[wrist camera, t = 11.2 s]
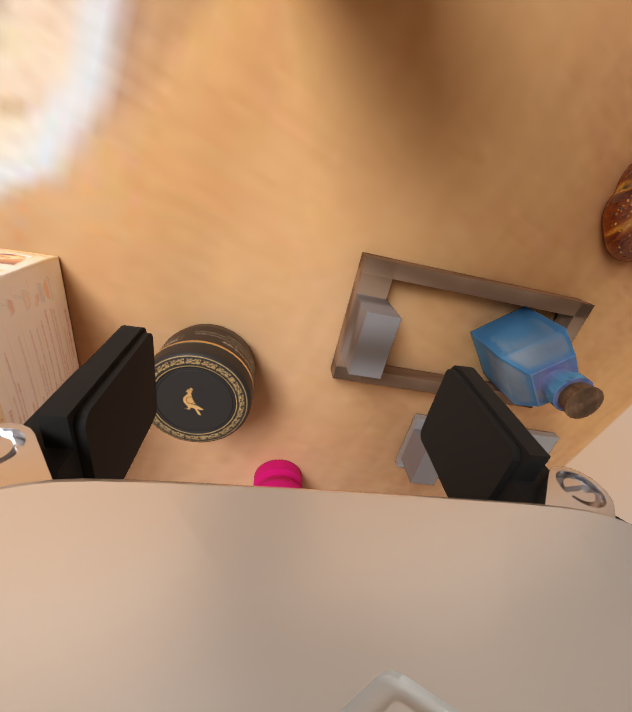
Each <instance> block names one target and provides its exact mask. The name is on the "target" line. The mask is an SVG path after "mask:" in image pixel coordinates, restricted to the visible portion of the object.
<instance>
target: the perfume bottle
mask: <svg viewBox="0 0 632 712" xmlns="http://www.w3.org/2000/svg"><path fill="white" fill-rule="evenodd" d="M470 333H471V336H472V339H473V342H474V345H475V348H476V351H477V354H478V357H479V360H480V363H481V366H482V369H483V372H484V374H485V375H486V376H487V377H488V378H489V379H490V380H491V381H492V382H493V383H494V384H495V385H496V386H497V387H498V388H499V389H500V390H501V391H502V392H503V393H504V394H505V395H506V396H507V397H508V398H509V399H510V400H511V401H512V402H513V403H514V404H517V405H527V406H538V407H539V406H541V405H544V404H546V403H548V402H550V403H551V404H552V405H553V406H554V407H556V408H557V409H558V410H561V411H564V412H565V413H566V414H567V415H568V416H569V417H570V418H574V419H579V418H584V417H587V416H589V415H591V414H592V413H594V412H595V411H596V410H597V409H598V408H599V407H600V406H601V404H602V402H603V400H604V394H603V392H602V391H601V390H600V389H599V388H596V387H594V385H593V383H592V382H591V381H590V380H589V379H588V378H586V377H585V376H583V375H582V374H580V373H578V367H577V360H576V355H575V352H574V349H573V347H572V344H571V341H570V338H569V335H568V332H567V330H566V328H564V327H563V326H561V325H559V324H557V323H555V322H553V321H552V320H550V319H548V318H546V317H544V316H543V315H541V314H539V313H537V312H535V311H533V310H532V309H530V308H528V307H525V306H524V307H522V308H520V309H518V310H515V311H513V312H511V313H509V314H507V315H505V316H503V317H501V318H499V319H496V320H494V321H492V322H490V323H488V324H486V325H484V326H482V327H480V328H477V329H475V330H473V331H471V332H470Z"/></svg>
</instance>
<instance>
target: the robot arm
mask: <svg viewBox="0 0 632 712" xmlns="http://www.w3.org/2000/svg"><path fill="white" fill-rule="evenodd" d="M156 412H157V394H156V378H155V362H154V346H153V336H152V334H151V333H147V332H146V329H145V328H142V327H134V326H126V325H123V326H121V327H120V328H119V329H118V330H117V331H116V332H115V333H114V334H113V335H112V336H111V337H110V338H109V339H108V340H107V341H106V343H105V344H104V345H103V346H102V347H101V348H100V349H99V350H98V351H97V352H96V353H95V354H94V355H93V356H92V357H91V358H90V359H89V360H88V361H87V362H86V363H85V364H84V365H83V366H81V367H80V368H78V369H77V370H76V371H75V372H74V373H73V374H72V375H71V376H70V377H69V378H68V379H67V380H66V381H65V382H64V383H63V384H62V385H61V386H60V387H59V388H58V389H57V390H56V391H55V392H54V393H53V394H52V395H51V396H50V398H49V399H48V400H47V401H46V402H45V403H44V404H43V405H42V406H41V407H40V408H39V409H38V410H37V411H36V412H35V413H34V414H33V415H32V416H31V417H30V418H29V419H28V420H27V421H26V422H25V423H24V424H23V425H22V424H15V423H2V424H0V712H632V524H630V523H627V522H625V521H624V520H622V519H620V518H619V517H617V516H615V509H614V504H613V501H612V499H611V497H610V496H609V494H608V493H607V492H606V491H605V490H604V489H603V488H602V487H601V486H600V485H599V484H598V483H597V482H595V481H594V480H593V479H591V478H590V477H588V476H586V475H585V474H583V473H581V472H579V471H576V470H574V469H572V468H568V467H564V466H555V467H553V468H551V469H550V471H549V469H548V468H547V467H546V466H545V464H546V463H547V462H548V460H549V459H550V457H551V456H550V455H549V454H548V453H547V452H546V451H545V449H544V448H543V447H542V446H541V445H540V444H539V443H538V441H537V440H536V439H535V438H534V437H533V436H532V435H531V433H530V432H529V431H528V430H527V429H526V428H525V427H524V425H523V424H522V423H521V422H520V421H519V420H518V418H517V417H516V416H515V415H514V414H513V413H512V412H511V410H510V409H509V408H508V407H507V406H506V405H505V404H504V402H503V401H502V400H501V399H500V398H499V397H498V396H497V394H496V393H495V392H494V391H493V390H492V389H491V388H490V386H489V385H488V384H487V383H486V382H485V381H484V380H483V378H482V377H481V376H480V375H479V374H478V373H477V371H476V370H475V369H474V368H472V367H464V366H453V367H452V368H451V369H448V370H447V371H446V373H445V375H444V377H443V380H442V382H441V384H440V387H439V389H438V391H437V394H436V396H435V398H434V401H433V403H432V405H431V408H430V410H429V412H428V415H427V417H426V419H425V422H424V424H423V426H422V429H421V433H420V436H421V441H422V443H423V445H424V447H425V449H426V451H427V454H428V456H429V458H430V460H431V462H432V464H433V466H434V468H435V471H436V473H437V475H438V477H439V479H440V481H441V483H442V486H443V488H444V490H445V492H446V494H447V496H448V498H447V497H432V496H417V495H402V494H385V493H369V492H353V491H336V490H319V489H302V488H285V487H266V486H248V485H229V484H211V483H192V482H173V481H155V480H130V479H124V478H125V476H126V474H127V472H128V470H129V468H130V466H131V464H132V462H133V460H134V458H135V456H136V454H137V452H138V450H139V448H140V446H141V444H142V442H143V440H144V438H145V436H146V434H147V432H148V430H149V428H150V426H151V424H152V422H153V420H154V418H155V416H156Z"/></svg>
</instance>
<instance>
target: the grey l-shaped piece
mask: <svg viewBox="0 0 632 712" xmlns="http://www.w3.org/2000/svg"><path fill="white" fill-rule="evenodd" d="M426 417H427V415H420V414H415V417H414V419H413V421H412V424H411V426H410V428H409V430H408V433H407V435H406V437H405V440H404V442H403V444H402V447H401V449H400V451H399V454H398V456H397V458H396V461H395V462H396V465H397V467H402V468H405V470H406V472H407V475H408V477H409V479H410V482H411V483H417V484H427V485H434V484H435V482H436V480H437V478H438V475H437V473H436V471H435V468H434V466H433V464H432V462H431V460H430V458H429V456H428V454H427V451H426V449H425V447H424V445H423V443H422V441H421V436H420V433H421V429H422V426H423V424H424V422H425V419H426ZM527 430H528V431H529V432H530V433H531V435H532V436H533V437H534V438H535V439H536V440H537V441H538V443H539V444H540V445H541V446H542V447H543V448H544V449H545V451H546V452H547V453H548V454H549V453H550V451H551V450H552V448H553V447H554V445H555V444H556V442H557V441H558V440H559V437H558V436H557V435H556V434H555V433H550V432H543V431H536V430H529V429H527Z"/></svg>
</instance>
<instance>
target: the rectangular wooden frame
mask: <svg viewBox="0 0 632 712" xmlns="http://www.w3.org/2000/svg"><path fill="white" fill-rule="evenodd" d="M393 279H395V280H399V281H404V282H409V283H414V284H419V285H424V286H429V287H433V288H438V289H443V290H448V291H453V292H458V293H462V294H467V295H472V296H477V297H482V298H487V299H492V300H496V301H501V302H506V303H511V304H516V305H521V306H525V307H530V308H535V309H540V310H545V311H550V312H555V313H558V315H557V317H556V319H555V320H554V322H555V323H557V324H559V325H561V326H563V327H564V328H566V330H567V332H568V335H569V338H570V341H571V343H572V342H573V340H574V338H575V337H576V335H577V333H578V332H579V330H580V328H581V327H582V325H583V324H584V322H585V320H586V319H587V317H588V315H589V314H590V312H591V310H592V309H593V307H594V305H592V304H590V303H587V302H585V301H583V300H580V299H576V298H571V297H567V296H562V295H558V294H553V293H548V292H544V291H539V290H535V289H530V288H525V287H521V286H516V285H511V284H507V283H502V282H498V281H493V280H488V279H484V278H479V277H475V276H470V275H465V274H461V273H456V272H452V271H447V270H442V269H438V268H433V267H428V266H424V265H419V264H415V263H410V262H405V261H401V260H396V259H392V258H387V257H382V256H378V255H373V254H369V253H364V252H362V256H361V260H360V263H359V267H358V271H357V274H356V278H355V282H354V285H353V289H352V293H351V296H350V300H349V304H348V307H347V311H346V315H345V318H344V322H343V326H342V329H341V333H340V337H339V340H338V344H337V348H336V351H335V355H334V359H333V362H332V366H331V372H332V376H333V378H337V379H343V380H350V381H356V382H363V383H370V384H376V385H383V386H390V387H396V388H403V389H409V390H416V391H423V392H429V393H436V394H437V391H438V389H439V387H440V384H441V382H442V380H443V377H444V375H442V374H436V373H430V372H424V371H417V370H411V369H405V368H399V367H393V366H387V365H385V364H386V361H387V358H388V356H389V353H390V350H391V347H392V344H393V341H394V339H395V336H396V333H397V330H398V327H399V324H400V322H401V319H402V318H401V317H400V316H399V315H398V313H397V312H396V311H395V310H394V308H393V307H392V306H391V305H390V303H389V302H388V301H387V300H386V299H387V296H388V292H389V289H390V286H391V283H392V280H393ZM485 382H486V381H485ZM486 383H487V384H488V385H489V386H490V388H491V389H492V390H493V391H494V392H495V393H496V394H497V396H498V397H499V398H500V399H501V400H502V401H503V402H504V404H509V405H515V406H522V407H529V408H532V407H533V406H527V405H517V404H514V403H513V402H512V401H511V400H510V399H509V398H508V397H507V396H506V395H505V394H504V393H503V392H502V391H501V390H500V389H499V388H498V387H497V386H496V385H495V384H494V383H492V382H486Z"/></svg>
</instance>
